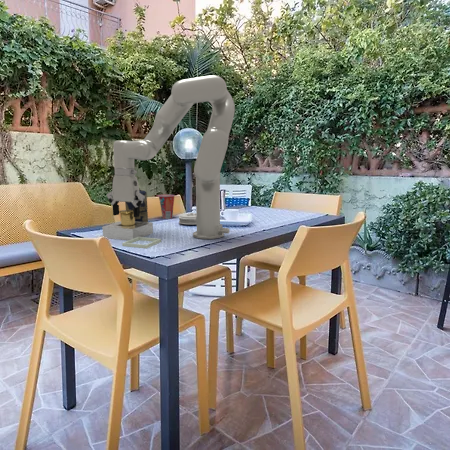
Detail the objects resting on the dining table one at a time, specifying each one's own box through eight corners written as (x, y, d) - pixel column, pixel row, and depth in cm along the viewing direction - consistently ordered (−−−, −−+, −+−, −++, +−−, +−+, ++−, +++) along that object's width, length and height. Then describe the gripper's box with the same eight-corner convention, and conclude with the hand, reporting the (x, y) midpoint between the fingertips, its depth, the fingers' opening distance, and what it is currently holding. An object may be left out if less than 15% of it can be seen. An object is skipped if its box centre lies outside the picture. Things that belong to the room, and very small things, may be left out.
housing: (153, 234, 147) (152, 222, 146) (133, 241, 134) (132, 229, 133) (124, 231, 151) (124, 220, 150) (103, 239, 139) (102, 226, 138)
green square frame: (161, 243, 132) (161, 238, 132) (146, 249, 123) (146, 245, 122) (138, 240, 135) (138, 236, 135) (122, 247, 126) (122, 242, 126)
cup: (167, 216, 191) (166, 193, 188) (178, 217, 186) (178, 194, 183) (154, 218, 183) (153, 195, 181) (166, 220, 178) (165, 196, 176)
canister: (142, 231, 153) (140, 189, 149) (122, 230, 155) (120, 189, 151) (151, 226, 162) (150, 187, 159) (132, 226, 164) (130, 187, 160)
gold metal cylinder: (139, 234, 144) (138, 210, 142) (130, 237, 139) (129, 212, 137) (127, 233, 146) (125, 209, 144) (117, 236, 141) (116, 211, 139)
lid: (174, 225, 166) (173, 215, 165) (186, 220, 178) (185, 211, 177) (198, 227, 162) (198, 216, 161) (209, 222, 173) (209, 212, 172)
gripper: (149, 173, 138) (150, 216, 141) (112, 171, 144) (114, 212, 147) (137, 174, 131) (139, 219, 135) (100, 172, 137) (102, 215, 140)
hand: (126, 215), depth 141 cm, fingers open, 9 cm apart
